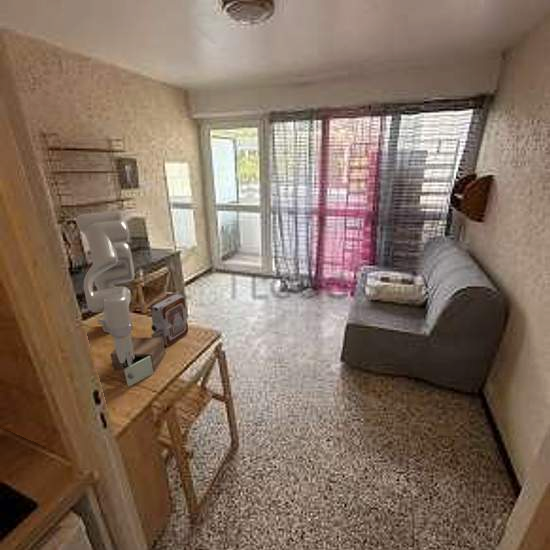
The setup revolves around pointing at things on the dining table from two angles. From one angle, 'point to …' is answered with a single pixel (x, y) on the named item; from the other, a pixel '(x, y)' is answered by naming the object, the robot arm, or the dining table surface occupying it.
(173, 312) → the cine camera
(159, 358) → the camera case
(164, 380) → the dining table surface
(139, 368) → the case door
